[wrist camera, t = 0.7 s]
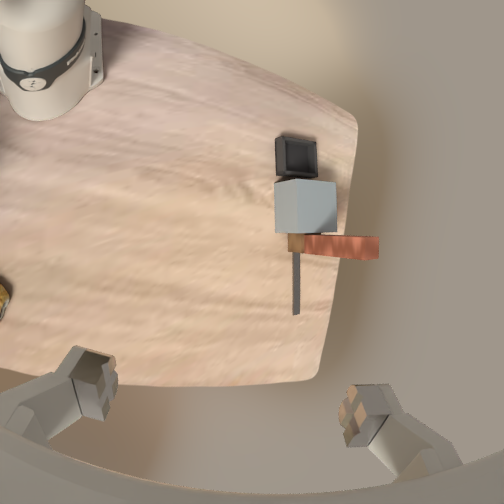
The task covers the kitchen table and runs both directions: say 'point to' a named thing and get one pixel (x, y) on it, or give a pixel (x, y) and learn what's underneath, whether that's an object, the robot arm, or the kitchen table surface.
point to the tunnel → (305, 206)
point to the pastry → (3, 300)
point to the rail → (296, 283)
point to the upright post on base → (334, 245)
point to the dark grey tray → (296, 157)
